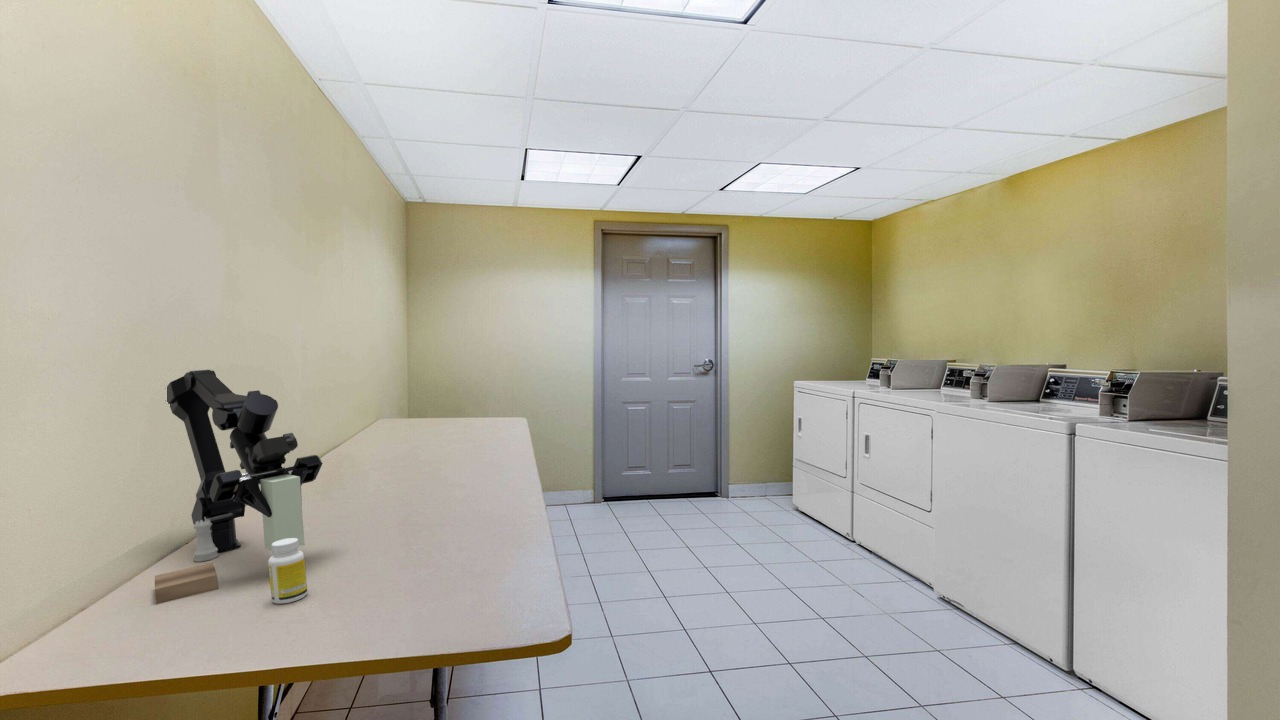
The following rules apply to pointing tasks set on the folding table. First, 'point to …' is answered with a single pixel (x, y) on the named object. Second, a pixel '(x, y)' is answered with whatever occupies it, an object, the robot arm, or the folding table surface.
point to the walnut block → (185, 583)
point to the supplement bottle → (287, 572)
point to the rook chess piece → (204, 542)
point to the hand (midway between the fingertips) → (285, 511)
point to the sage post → (282, 509)
